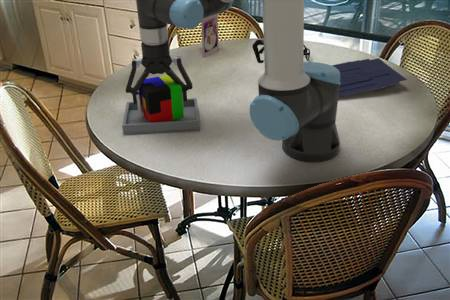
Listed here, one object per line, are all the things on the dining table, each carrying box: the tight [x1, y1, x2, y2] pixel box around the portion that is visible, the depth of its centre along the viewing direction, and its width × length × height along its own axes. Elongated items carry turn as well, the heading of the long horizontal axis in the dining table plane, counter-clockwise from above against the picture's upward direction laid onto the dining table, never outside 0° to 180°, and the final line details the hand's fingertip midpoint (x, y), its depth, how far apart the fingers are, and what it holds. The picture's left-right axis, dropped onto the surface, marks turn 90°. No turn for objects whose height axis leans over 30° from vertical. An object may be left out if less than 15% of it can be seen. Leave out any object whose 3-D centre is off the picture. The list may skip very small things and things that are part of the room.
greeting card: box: [200, 14, 219, 58], centre depth 192 cm, size 11×7×15 cm, turn 149°
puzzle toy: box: [138, 74, 184, 123], centre depth 142 cm, size 10×10×10 cm
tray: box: [121, 97, 200, 136], centre depth 145 cm, size 16×22×3 cm
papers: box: [330, 57, 408, 99], centre depth 166 cm, size 24×30×4 cm
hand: (161, 112), depth 144 cm, fingers closed on puzzle toy, 12 cm apart
